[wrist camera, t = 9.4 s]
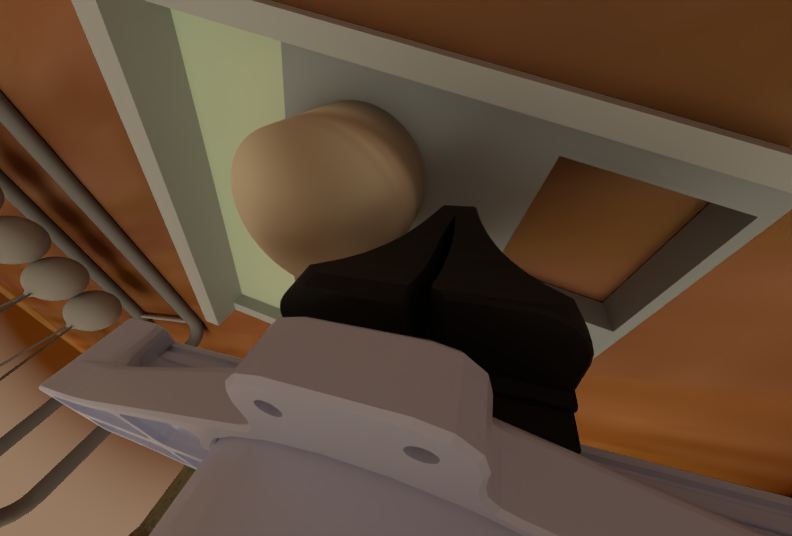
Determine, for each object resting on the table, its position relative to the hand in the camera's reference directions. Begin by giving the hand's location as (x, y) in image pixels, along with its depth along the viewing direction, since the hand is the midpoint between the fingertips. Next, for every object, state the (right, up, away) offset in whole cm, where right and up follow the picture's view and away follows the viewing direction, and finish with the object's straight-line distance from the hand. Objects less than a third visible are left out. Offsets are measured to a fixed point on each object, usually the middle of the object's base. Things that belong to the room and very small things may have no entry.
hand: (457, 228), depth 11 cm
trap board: (-1, 0, +5) cm, 5 cm away
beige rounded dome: (-4, +2, +1) cm, 5 cm away
